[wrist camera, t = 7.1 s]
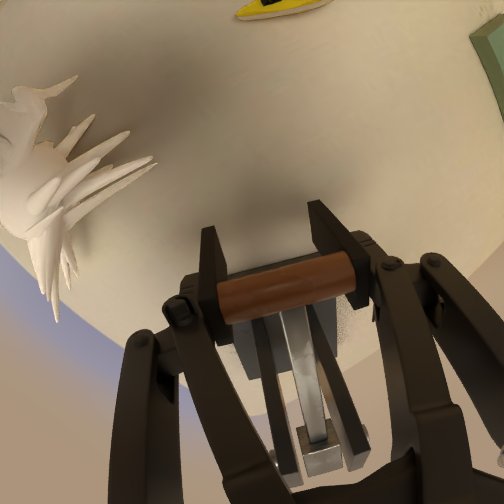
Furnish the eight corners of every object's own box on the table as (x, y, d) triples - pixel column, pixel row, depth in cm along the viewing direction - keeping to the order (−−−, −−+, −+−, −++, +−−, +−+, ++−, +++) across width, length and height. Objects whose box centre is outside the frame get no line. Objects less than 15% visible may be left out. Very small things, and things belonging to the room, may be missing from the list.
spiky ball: (112, 45, 13) (44, 5, 5) (204, 192, 18) (189, 245, 10) (5, 150, 14) (-74, 175, 7) (83, 274, 19) (32, 346, 12)
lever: (218, 276, 13) (213, 294, 11) (336, 245, 13) (355, 257, 11) (277, 457, 16) (281, 483, 13) (356, 435, 16) (368, 459, 13)
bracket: (211, 279, 21) (220, 466, 10) (328, 249, 21) (422, 407, 10) (247, 371, 28) (268, 500, 16) (333, 348, 28) (381, 468, 16)
